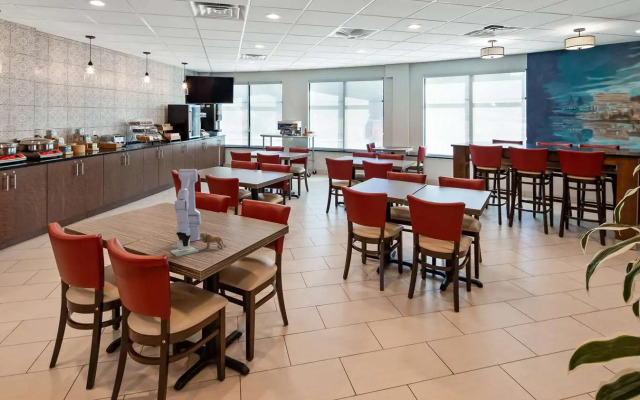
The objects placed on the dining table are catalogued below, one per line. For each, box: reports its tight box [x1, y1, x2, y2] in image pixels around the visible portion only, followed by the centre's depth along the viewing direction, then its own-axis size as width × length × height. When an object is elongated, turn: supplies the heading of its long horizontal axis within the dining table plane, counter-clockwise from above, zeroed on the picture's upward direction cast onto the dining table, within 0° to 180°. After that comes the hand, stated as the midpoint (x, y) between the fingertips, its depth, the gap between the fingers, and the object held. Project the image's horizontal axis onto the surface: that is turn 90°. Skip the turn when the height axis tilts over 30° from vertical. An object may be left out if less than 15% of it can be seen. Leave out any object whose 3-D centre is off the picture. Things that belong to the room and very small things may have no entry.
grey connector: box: [171, 239, 191, 250], centre depth 219 cm, size 3×9×5 cm, turn 131°
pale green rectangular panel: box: [170, 245, 200, 258], centre depth 221 cm, size 9×12×1 cm
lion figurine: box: [199, 232, 227, 249], centre depth 228 cm, size 15×5×9 cm, turn 93°
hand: (184, 245), depth 220 cm, fingers closed on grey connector, 3 cm apart
